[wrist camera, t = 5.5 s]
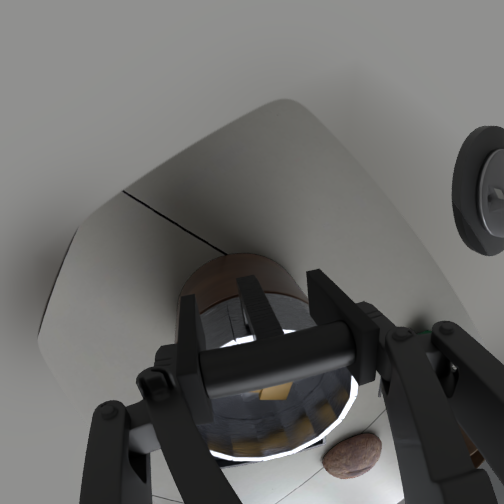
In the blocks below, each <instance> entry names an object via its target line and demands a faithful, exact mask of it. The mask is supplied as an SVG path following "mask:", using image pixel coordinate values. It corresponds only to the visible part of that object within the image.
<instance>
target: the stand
mask: <svg viewBox="0 0 504 504" xmlns="http://www.w3.org/2000/svg"><path fill="white" fill-rule="evenodd" d="M250 275H255V277H256V278H257V279H258V281H259V283H260V285H261V287H262V289H263V291H264V293H271V294H280V295H285V296H290V297H293V298H295V299H298V300H301V301H303V302H304V303H306V304H308V305H309V300H308V297H307V296H306V295H305V294H304V292H303V291H302V290H301V288H300V287H299V286H298V285H297V283H296V282H295V281H294V280H293V278H292V277H291V276H290V274H289V273H288V272H287V271H286V270H285V269H284V268H283V267H282V266H280V265H279V264H278V263H276V262H274V261H273V260H271V259H268V258H266V257H263V256H260V255H256V254H249V253H236V254H229V255H225V256H221V257H219V258H216V259H213V260H211V261H210V262H208V263H206V264H204V265H203V266H202V267H200V268H199V269H198V270H197V271H196V272H195V273H193V274H192V276H191V277H190V278H189V279H188V281H187V282H186V284H185V285H184V287H183V289H182V291H181V294H180V297H179V301H178V307H177V319H176V331H175V344H176V343H177V342H178V326H179V312H180V299H181V296H185V295H191V294H195V297H196V301H197V305H198V309H199V314H200V315H201V314H203V313H204V312H206V311H207V310H208V309H210V308H212V307H214V306H216V305H217V304H219V303H222V302H224V301H227V300H229V299H232V298H236V297H239V295H238V289H237V283H236V278H240V277H245V276H250Z"/></svg>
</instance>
